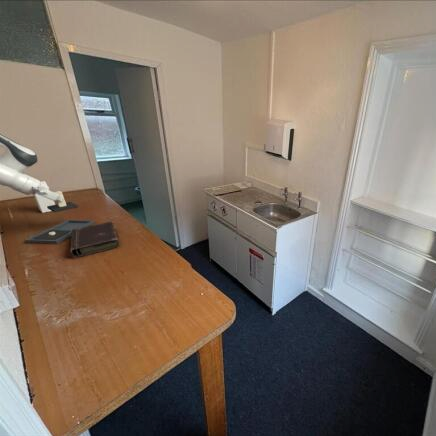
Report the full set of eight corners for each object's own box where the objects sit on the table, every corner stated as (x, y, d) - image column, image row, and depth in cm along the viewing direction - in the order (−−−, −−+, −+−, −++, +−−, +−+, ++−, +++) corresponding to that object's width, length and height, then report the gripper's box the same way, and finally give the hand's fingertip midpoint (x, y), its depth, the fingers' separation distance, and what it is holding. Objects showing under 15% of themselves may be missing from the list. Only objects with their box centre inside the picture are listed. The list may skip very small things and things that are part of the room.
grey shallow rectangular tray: (26, 243, 115) (24, 240, 115) (68, 222, 138) (68, 219, 138) (57, 243, 116) (56, 240, 115) (94, 223, 139) (93, 220, 138)
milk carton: (39, 210, 152) (27, 182, 145) (54, 207, 158) (43, 180, 150) (42, 213, 149) (30, 184, 141) (57, 210, 154) (46, 182, 147)
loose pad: (54, 212, 123) (48, 196, 119) (47, 208, 127) (41, 192, 124) (78, 207, 131) (72, 191, 127) (70, 203, 135) (65, 188, 132)
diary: (72, 259, 105) (68, 249, 103) (73, 237, 122) (70, 229, 120) (121, 246, 116) (119, 238, 114) (116, 228, 133) (114, 220, 131)
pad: (33, 240, 117) (32, 236, 116) (52, 231, 126) (50, 228, 125) (54, 241, 117) (52, 237, 116) (71, 232, 126) (69, 228, 125)
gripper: (40, 184, 112) (73, 198, 124) (26, 177, 122) (57, 191, 133) (31, 195, 110) (65, 208, 122) (18, 187, 120) (50, 200, 131)
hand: (61, 199), depth 128 cm, fingers closed on loose pad, 3 cm apart
